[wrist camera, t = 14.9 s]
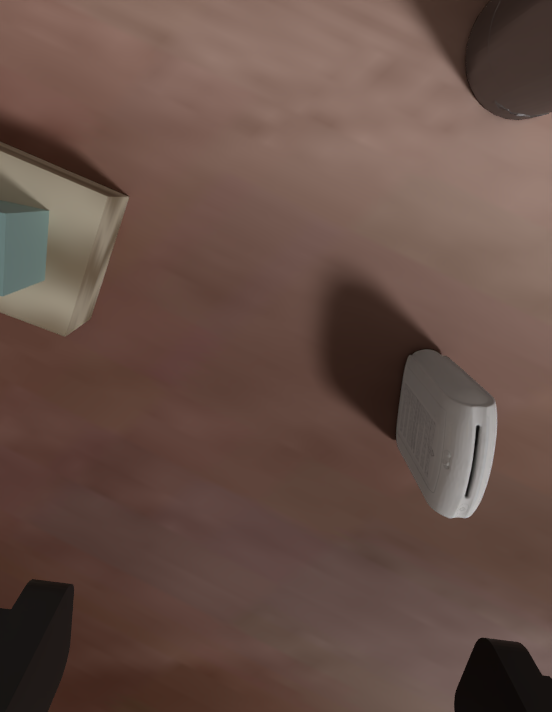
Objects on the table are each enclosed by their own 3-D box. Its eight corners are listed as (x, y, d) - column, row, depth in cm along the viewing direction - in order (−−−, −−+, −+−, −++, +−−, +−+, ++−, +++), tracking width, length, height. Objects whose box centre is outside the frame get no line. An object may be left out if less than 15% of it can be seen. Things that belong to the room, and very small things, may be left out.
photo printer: (434, 449, 47) (491, 533, 35) (390, 448, 47) (433, 532, 35) (450, 348, 44) (518, 404, 32) (403, 347, 44) (455, 402, 32)
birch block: (-6, 138, 38) (-53, 128, 32) (130, 196, 39) (107, 196, 34) (-36, 269, 41) (-84, 280, 35) (91, 318, 42) (65, 336, 37)
